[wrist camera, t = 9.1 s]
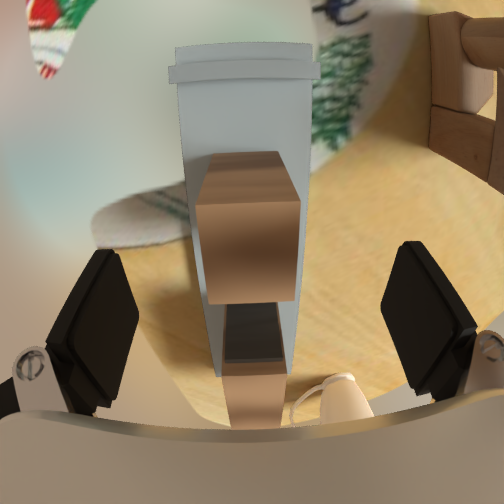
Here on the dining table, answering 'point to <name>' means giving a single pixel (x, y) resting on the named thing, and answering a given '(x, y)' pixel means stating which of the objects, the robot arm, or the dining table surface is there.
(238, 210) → the brown rectangular block
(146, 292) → the dining table surface
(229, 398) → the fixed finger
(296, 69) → the rail
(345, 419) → the cup
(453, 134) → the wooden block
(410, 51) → the dining table surface
